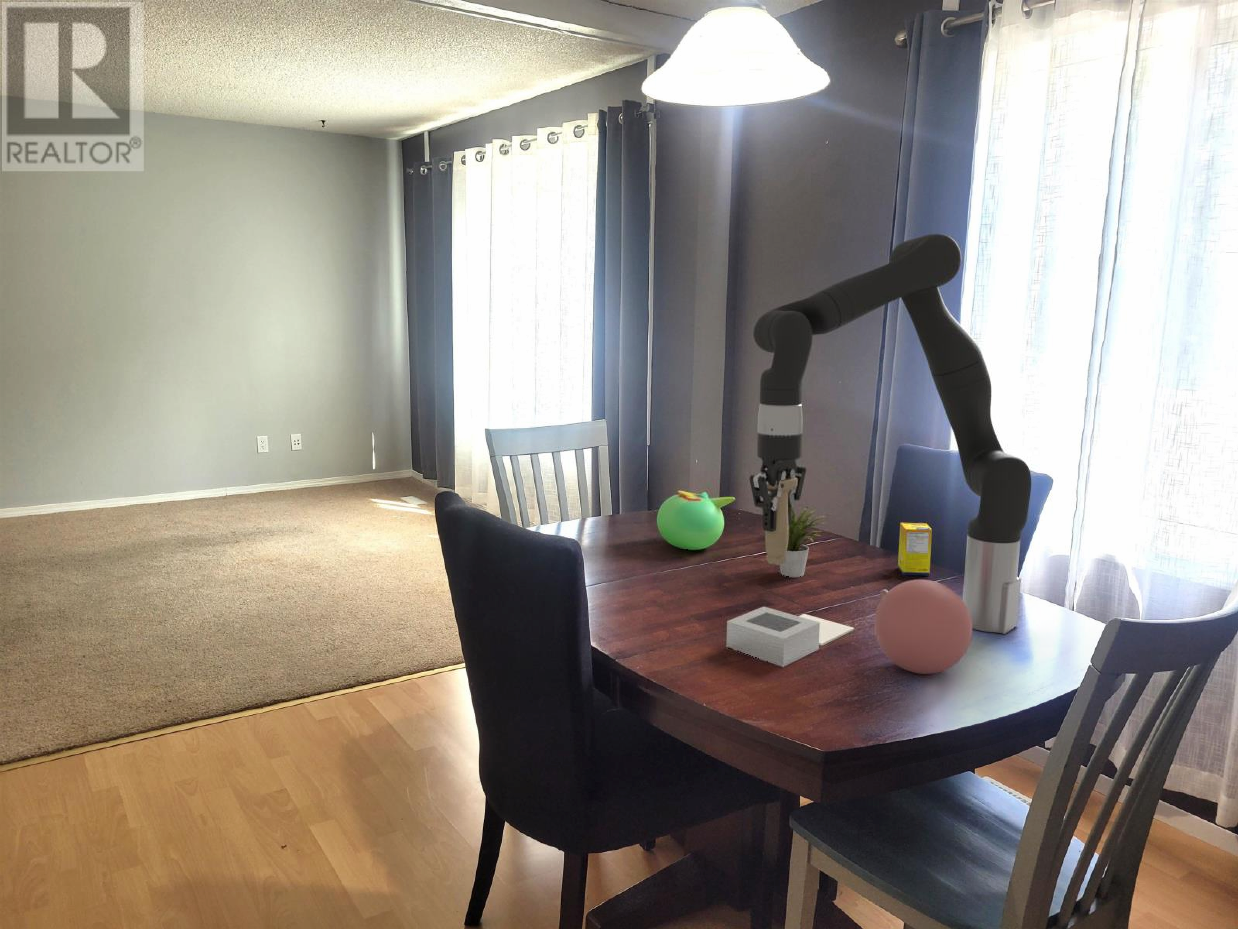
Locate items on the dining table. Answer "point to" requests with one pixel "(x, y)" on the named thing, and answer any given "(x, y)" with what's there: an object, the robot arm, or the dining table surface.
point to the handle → (779, 525)
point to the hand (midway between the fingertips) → (777, 528)
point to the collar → (773, 635)
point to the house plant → (798, 544)
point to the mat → (828, 629)
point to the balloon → (922, 626)
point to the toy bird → (692, 520)
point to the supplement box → (914, 549)
